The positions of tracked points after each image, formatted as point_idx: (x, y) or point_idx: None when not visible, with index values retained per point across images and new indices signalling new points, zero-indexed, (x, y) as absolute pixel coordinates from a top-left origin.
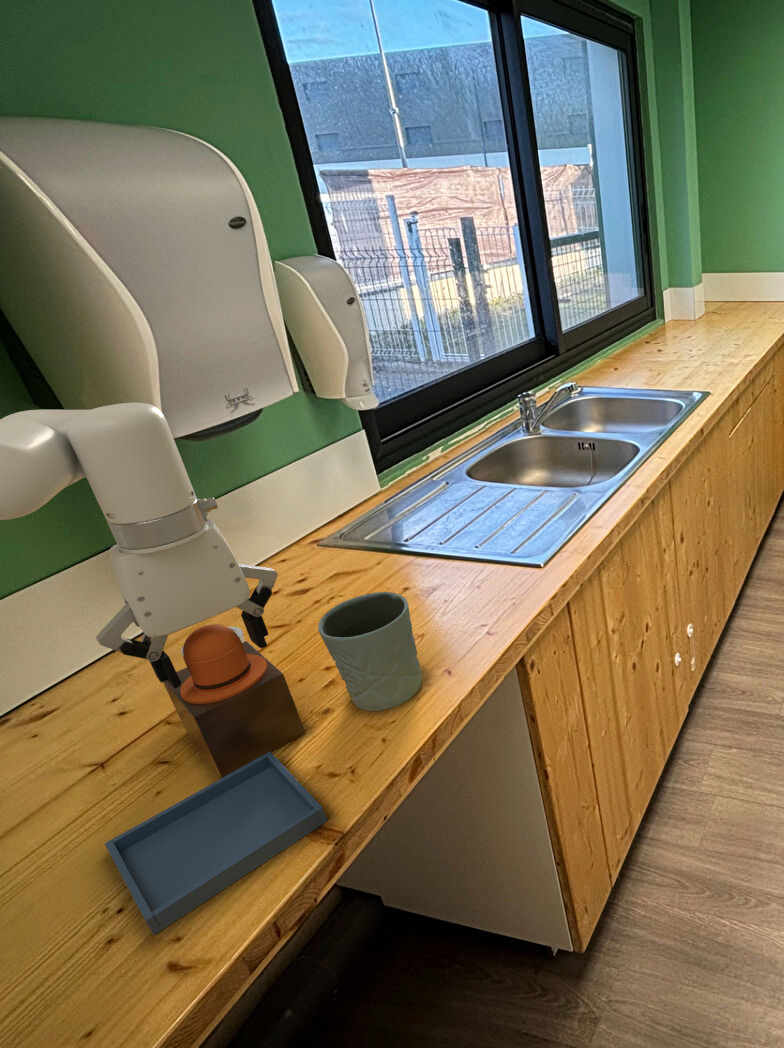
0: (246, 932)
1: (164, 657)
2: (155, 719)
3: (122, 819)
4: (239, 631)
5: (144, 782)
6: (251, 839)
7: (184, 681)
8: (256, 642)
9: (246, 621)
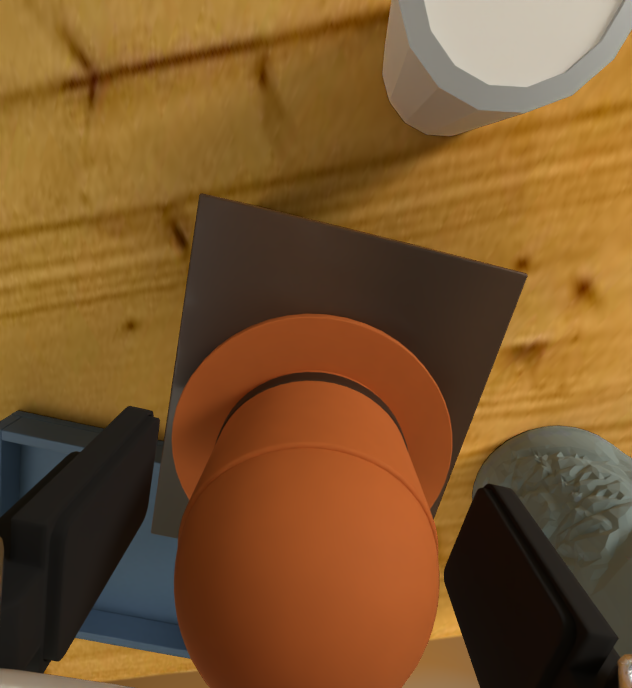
0: (87, 676)
1: (28, 670)
2: (253, 10)
3: (59, 331)
4: (625, 22)
5: (126, 262)
6: (161, 585)
7: (234, 316)
8: (459, 568)
9: (519, 655)
